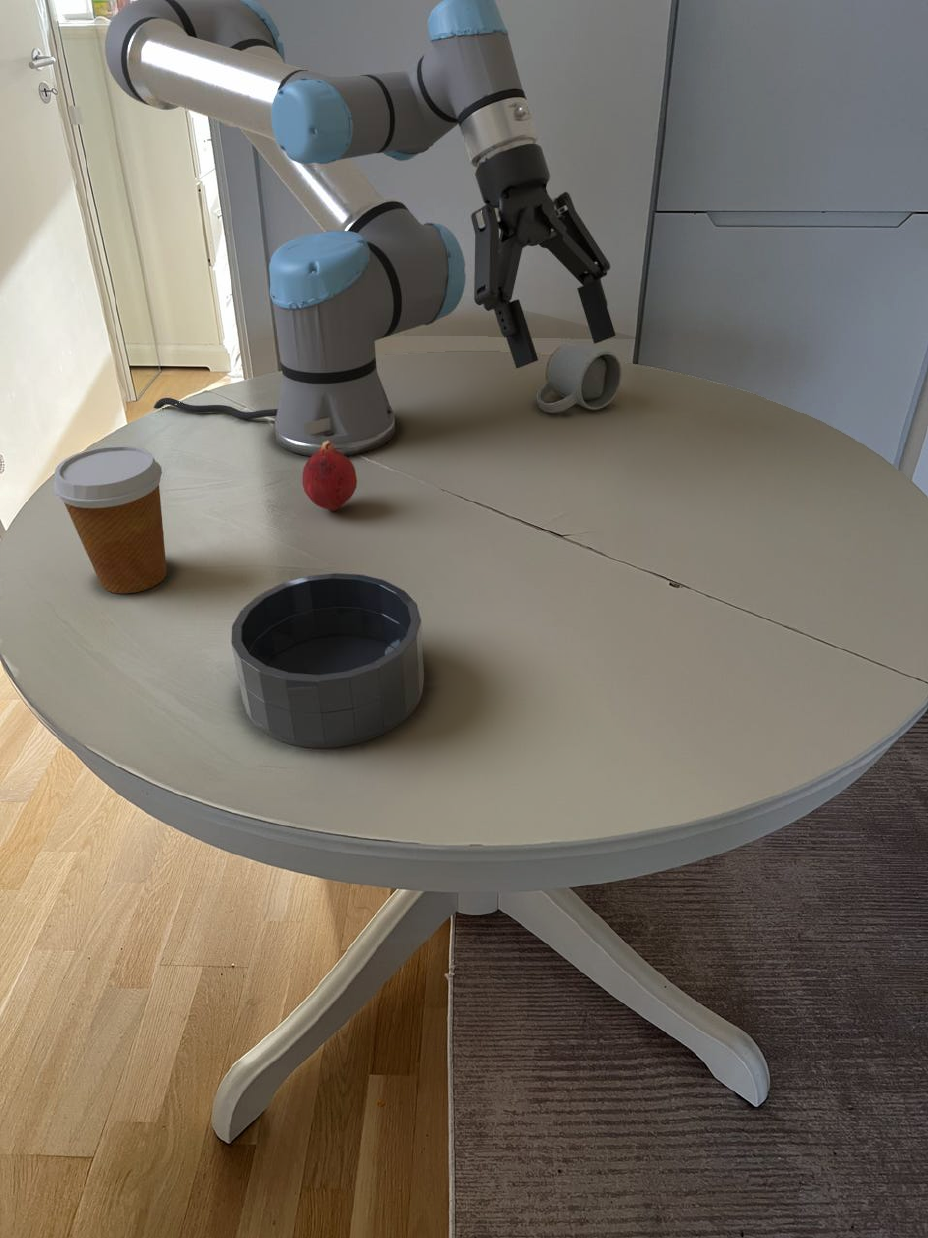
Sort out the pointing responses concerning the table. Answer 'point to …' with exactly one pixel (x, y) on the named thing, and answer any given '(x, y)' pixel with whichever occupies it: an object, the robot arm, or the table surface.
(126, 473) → the disposable coffee cup
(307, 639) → the pot
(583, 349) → the ceramic mug
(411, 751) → the table surface
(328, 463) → the onion
